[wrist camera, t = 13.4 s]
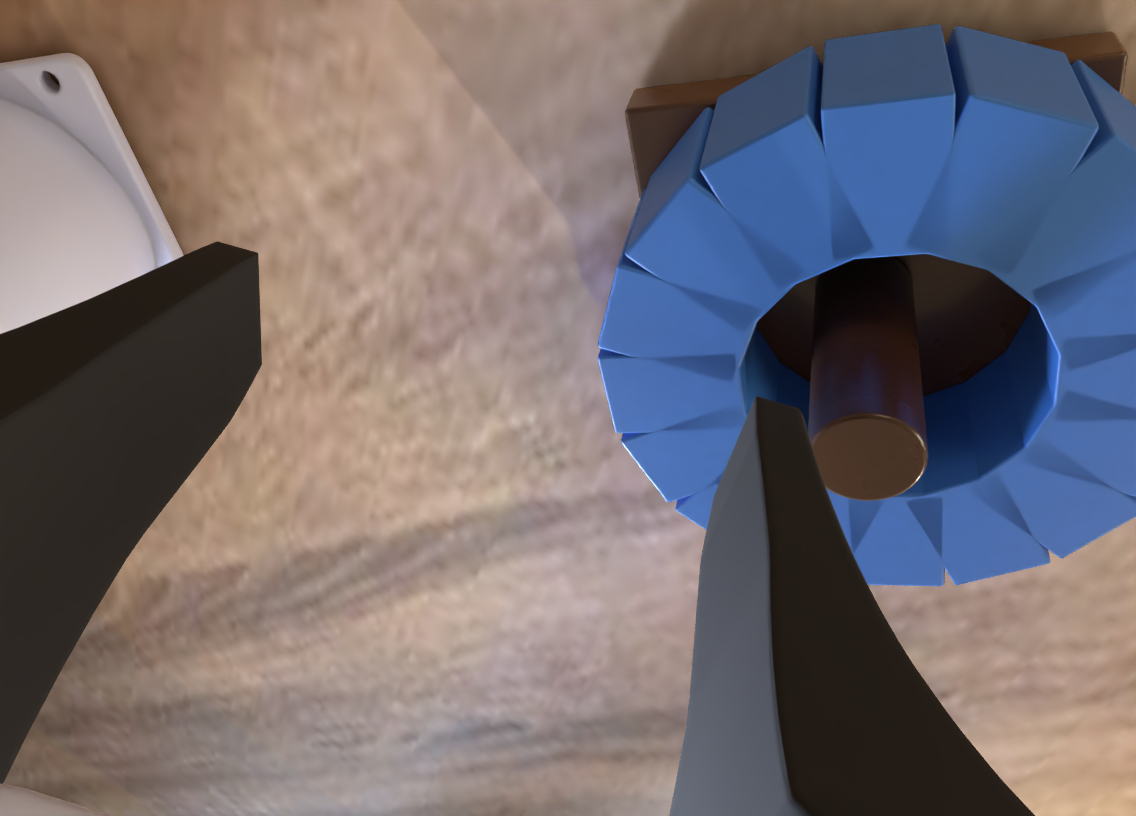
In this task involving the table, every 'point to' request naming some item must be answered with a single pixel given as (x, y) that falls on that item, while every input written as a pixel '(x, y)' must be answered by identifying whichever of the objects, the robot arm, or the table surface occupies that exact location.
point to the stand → (871, 312)
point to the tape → (894, 228)
